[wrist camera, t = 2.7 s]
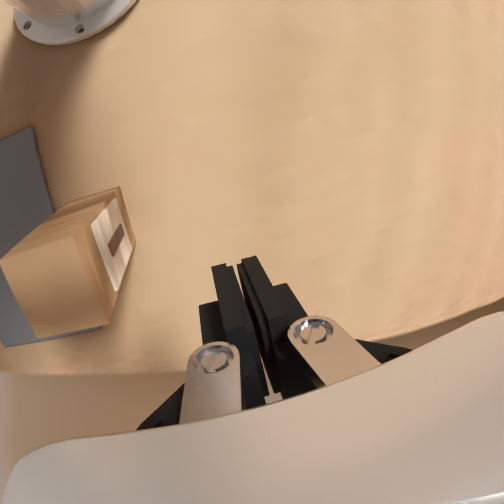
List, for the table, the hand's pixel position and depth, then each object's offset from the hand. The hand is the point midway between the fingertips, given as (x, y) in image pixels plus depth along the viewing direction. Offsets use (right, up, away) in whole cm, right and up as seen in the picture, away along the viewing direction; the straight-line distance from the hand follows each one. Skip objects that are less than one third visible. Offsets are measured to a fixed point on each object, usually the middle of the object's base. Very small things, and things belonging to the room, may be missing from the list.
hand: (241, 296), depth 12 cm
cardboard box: (-12, +4, +13) cm, 18 cm away
